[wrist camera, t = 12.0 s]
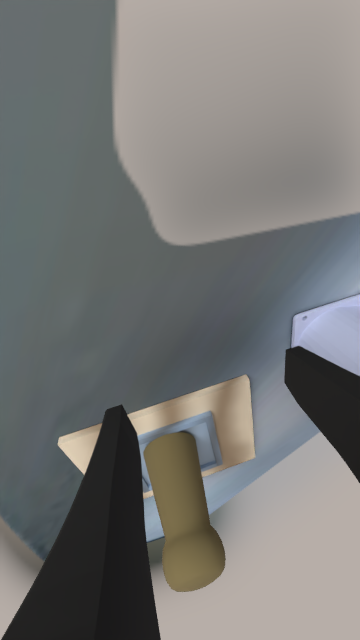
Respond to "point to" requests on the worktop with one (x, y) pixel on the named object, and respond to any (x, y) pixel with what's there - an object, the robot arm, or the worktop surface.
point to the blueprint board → (186, 428)
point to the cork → (183, 513)
